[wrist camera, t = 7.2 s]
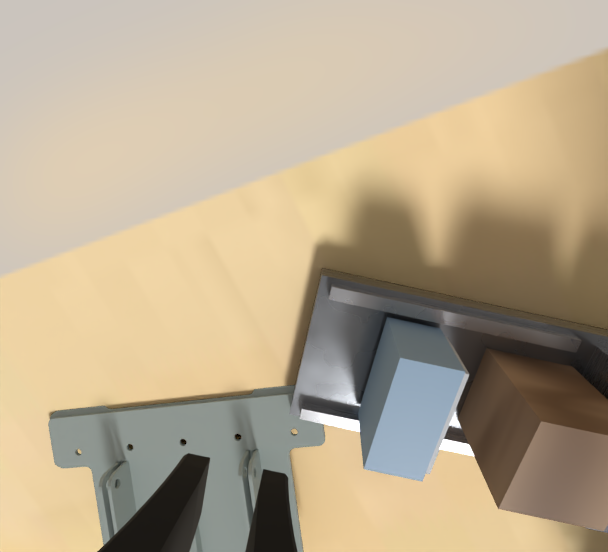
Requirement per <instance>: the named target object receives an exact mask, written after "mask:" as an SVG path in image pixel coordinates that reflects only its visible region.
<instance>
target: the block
mask: <svg viewBox="0 0 608 552" xmlns="http://www.w3.org/2000/svg"><path fill="white" fill-rule="evenodd" d="M458 421H459V423H460V426H461V428H462V430H463V432H464V434H465V437H466V439H467V441H468V443H469V445H470V448H471V450H472V452H473V454H474V456H475V459H476V461H477V463H478V465H479V467H480V470H481V472H482V474H483V476H484V478H485V481H486V483H487V485H488V487H489V489H490V492H491V494H492V496H493V498H494V500H495V503H496V505H497V507H498V509H502V510H506V511H511V512H516V513H520V514H525V515H530V516H535V517H539V518H544V519H549V520H554V521H558V522H563V523H568V524H572V525H577V526H582V527H587V528H591V529H596V530H601V531H604V530H605V529H606V527H607V525H608V400H607V399H606V398H605V397H604V396H603V395H602V394H601V393H600V392H599V391H598V390H597V389H596V388H595V387H594V386H593V385H591V384H590V383H589V382H588V381H587V380H586V379H585V378H584V377H583V376H582V375H581V374H580V373H579V372H578V371H577V370H576V369H574V368H573V367H572V366H567V365H563V364H558V363H553V362H549V361H544V360H540V359H535V358H530V357H526V356H521V355H516V354H512V353H507V352H502V351H498V350H493V349H488V348H486V351H485V353H484V356H483V358H482V360H481V363H480V365H479V368H478V370H477V373H476V375H475V378H474V380H473V383H472V385H471V388H470V390H469V393H468V395H467V397H466V400H465V402H464V405H463V407H462V410H461V412H460V415H459V417H458Z"/></svg>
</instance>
